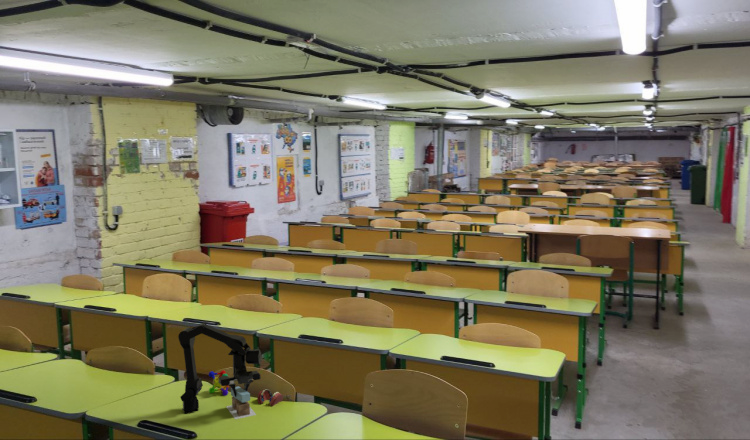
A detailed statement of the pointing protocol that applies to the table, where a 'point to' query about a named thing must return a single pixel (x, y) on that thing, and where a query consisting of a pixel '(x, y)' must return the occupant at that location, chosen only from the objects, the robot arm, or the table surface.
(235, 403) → the post
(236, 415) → the mat
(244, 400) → the light blue block
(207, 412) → the table surface
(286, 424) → the table surface
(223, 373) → the molecular model
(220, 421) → the table surface
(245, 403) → the post
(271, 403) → the teeth model
